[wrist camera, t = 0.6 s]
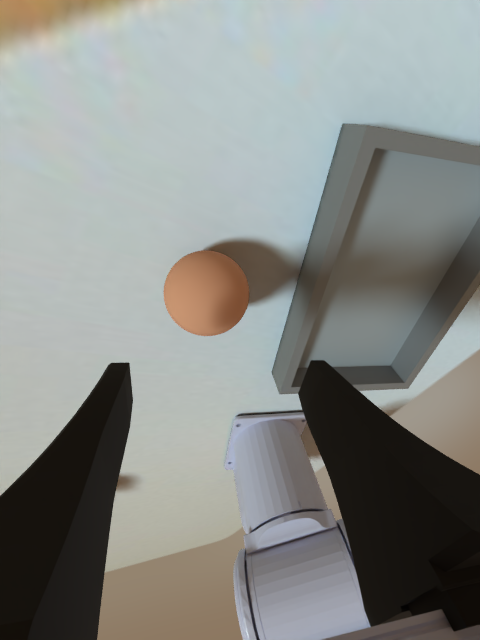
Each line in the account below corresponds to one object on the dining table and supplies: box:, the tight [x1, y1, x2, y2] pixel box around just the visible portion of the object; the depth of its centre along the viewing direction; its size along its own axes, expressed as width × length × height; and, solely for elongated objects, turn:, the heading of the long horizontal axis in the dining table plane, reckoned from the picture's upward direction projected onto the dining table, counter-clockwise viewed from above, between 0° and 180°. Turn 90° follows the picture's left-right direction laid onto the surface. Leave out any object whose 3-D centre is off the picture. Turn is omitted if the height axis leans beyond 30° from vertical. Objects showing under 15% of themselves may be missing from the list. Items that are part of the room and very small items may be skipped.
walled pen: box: [272, 124, 480, 394], centre depth 21 cm, size 19×13×2 cm
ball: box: [164, 251, 249, 336], centre depth 17 cm, size 5×5×5 cm
